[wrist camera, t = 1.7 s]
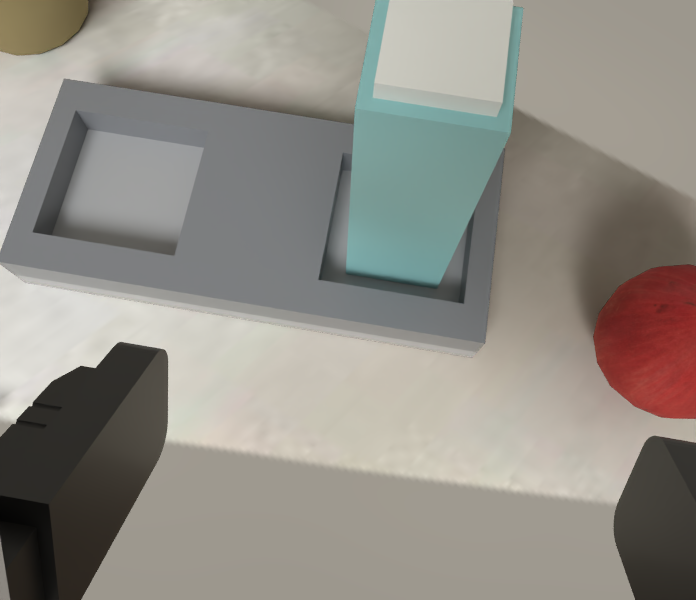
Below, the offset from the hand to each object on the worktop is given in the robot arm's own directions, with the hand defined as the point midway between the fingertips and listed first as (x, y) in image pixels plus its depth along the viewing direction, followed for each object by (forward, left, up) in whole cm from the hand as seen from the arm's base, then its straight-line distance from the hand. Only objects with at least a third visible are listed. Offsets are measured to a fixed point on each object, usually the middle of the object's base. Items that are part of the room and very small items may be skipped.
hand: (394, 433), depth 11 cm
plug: (0, +10, -15) cm, 18 cm away
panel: (-6, +10, -16) cm, 20 cm away
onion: (+11, +7, -16) cm, 21 cm away
